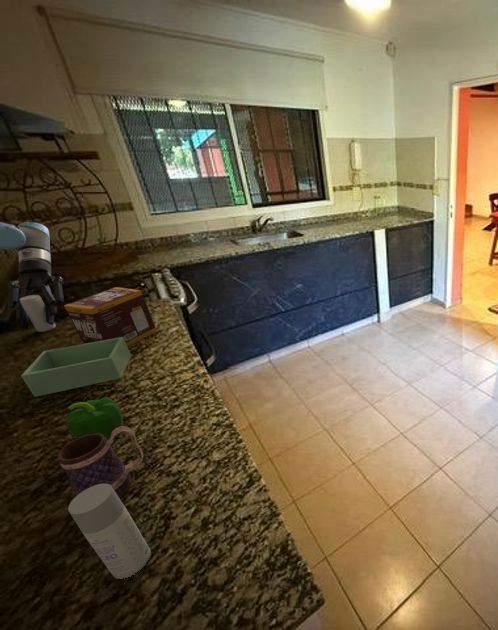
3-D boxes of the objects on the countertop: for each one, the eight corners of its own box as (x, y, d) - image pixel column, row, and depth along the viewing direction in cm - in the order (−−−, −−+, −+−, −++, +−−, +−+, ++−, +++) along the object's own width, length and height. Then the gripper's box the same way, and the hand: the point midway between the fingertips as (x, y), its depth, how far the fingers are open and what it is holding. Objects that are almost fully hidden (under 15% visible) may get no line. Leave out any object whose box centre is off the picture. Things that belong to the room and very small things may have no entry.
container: (111, 587, 49) (63, 522, 43) (113, 558, 53) (69, 494, 46) (151, 566, 52) (112, 501, 45) (151, 540, 55) (114, 476, 48)
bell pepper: (135, 418, 80) (118, 383, 75) (122, 444, 73) (102, 407, 68) (90, 427, 77) (70, 392, 73) (72, 455, 70) (48, 418, 66)
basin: (34, 397, 86) (20, 375, 83) (54, 370, 96) (43, 351, 93) (121, 378, 93) (111, 358, 90) (131, 355, 103) (123, 336, 101)
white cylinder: (36, 334, 115) (17, 301, 110) (38, 328, 118) (20, 297, 113) (55, 329, 118) (38, 297, 112) (57, 324, 121) (40, 293, 116)
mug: (84, 518, 58) (51, 469, 53) (82, 491, 63) (51, 443, 58) (156, 482, 65) (133, 435, 59) (150, 459, 69) (127, 414, 64)
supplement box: (85, 351, 106) (62, 305, 99) (133, 328, 119) (116, 286, 112) (111, 355, 103) (89, 309, 96) (157, 331, 117) (141, 289, 110)
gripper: (-11, 262, 112) (-11, 327, 107) (63, 255, 120) (67, 315, 114) (6, 273, 119) (7, 334, 113) (76, 265, 127) (80, 323, 121)
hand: (37, 325), depth 114 cm, fingers open, 6 cm apart
